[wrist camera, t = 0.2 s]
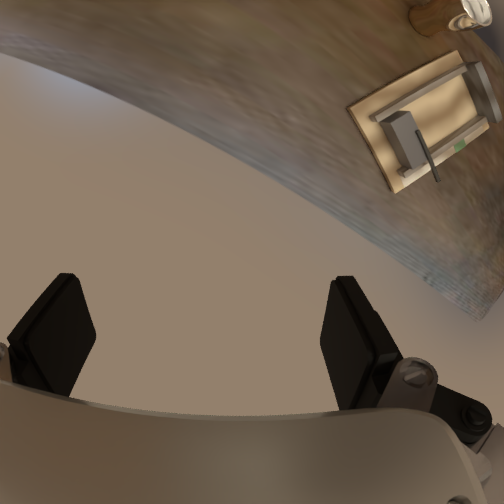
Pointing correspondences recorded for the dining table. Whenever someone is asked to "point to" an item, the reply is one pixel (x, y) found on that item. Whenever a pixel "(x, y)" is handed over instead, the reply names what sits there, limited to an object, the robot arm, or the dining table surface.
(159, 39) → the dining table surface
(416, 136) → the slider
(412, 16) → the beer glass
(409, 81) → the gauge board
